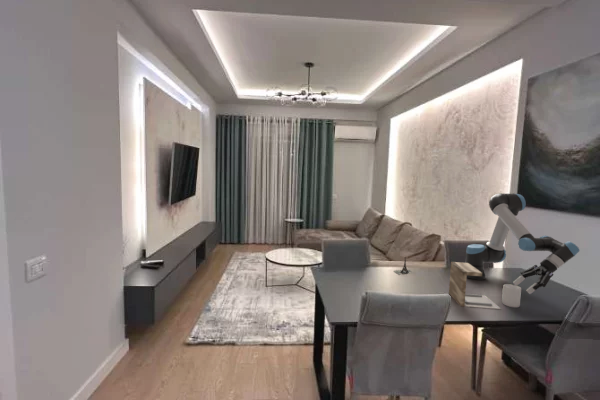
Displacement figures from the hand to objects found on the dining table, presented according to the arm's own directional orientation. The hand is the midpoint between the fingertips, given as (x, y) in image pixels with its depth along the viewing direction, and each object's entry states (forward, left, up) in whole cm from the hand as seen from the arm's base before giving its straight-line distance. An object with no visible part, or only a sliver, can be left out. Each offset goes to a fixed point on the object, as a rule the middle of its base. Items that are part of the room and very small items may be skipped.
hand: (520, 288), depth 184 cm
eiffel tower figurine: (+55, -51, -11) cm, 75 cm away
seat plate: (+23, -1, -10) cm, 25 cm away
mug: (+5, -1, -10) cm, 12 cm away
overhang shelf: (+30, -1, -10) cm, 32 cm away
